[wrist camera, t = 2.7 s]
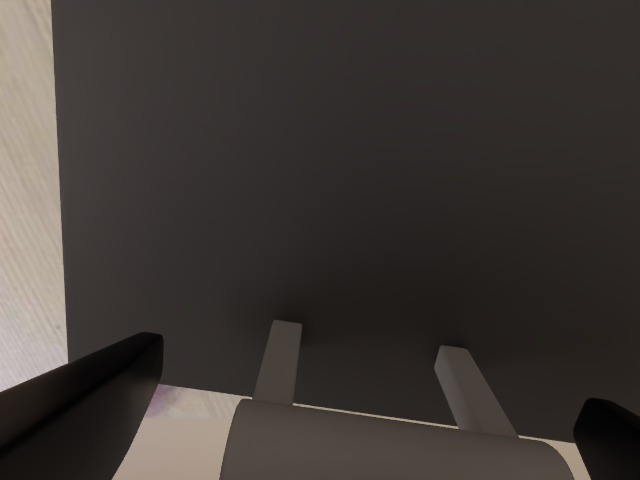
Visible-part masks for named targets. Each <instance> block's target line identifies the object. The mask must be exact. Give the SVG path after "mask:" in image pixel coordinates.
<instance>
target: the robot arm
mask: <svg viewBox="0 0 640 480" xmlns="http://www.w3.org/2000/svg"><path fill="white" fill-rule="evenodd" d="M163 353H164V338H163V336H162V335H161V334H158V333H151V332H140V333H138V334H135V335H133V336H131V337H128V338H126V339H124V340H121V341H119V342H117V343H114V344H112V345H110V346H107V347H105V348H103V349H100V350H98V351H96V352H93V353H91V354H89V355H86V356H84V357H82V358H79V359H77V360H75V361H72V362H70V363H68V364H65V365H63V366H61V367H58V368H56V369H54V370H51V371H49V372H47V373H44V374H42V375H40V376H37V377H35V378H33V379H30V380H28V381H26V382H23V383H21V384H19V385H16V386H14V387H11V388H9V389H7V390H4V391H2V392H0V480H112V478H113V476H114V475H115V473H116V471H117V469H118V468H119V466H120V464H121V463H122V461H123V459H124V457H125V455H126V454H127V452H128V450H129V448H130V446H131V444H132V442H133V439H134V437H135V435H136V433H137V431H138V428H139V426H140V424H141V421H142V419H143V417H144V415H145V413H146V410H147V408H148V406H149V404H150V401H151V399H152V397H153V395H154V392H155V390H156V388H157V386H158V383H159V381H160V379H161V375H162V371H163ZM573 437H574V441H575V443H576V446H577V448H578V450H579V453H580V455H581V457H582V460H583V462H584V464H585V466H586V469H587V471H588V473H589V475H590V478H591V480H640V416H638V415H636V414H634V413H633V412H631V411H629V410H627V409H625V408H624V407H622V406H620V405H618V404H616V403H615V402H613V401H610V400H606V399H599V398H588V399H587V400H586V401H585V402H584V404H583V407H582V409H581V411H580V414H579V416H578V418H577V420H576V423H575V425H574V428H573Z"/></svg>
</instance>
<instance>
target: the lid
mask: <svg viewBox="0 0 640 480" xmlns="http://www.w3.org/2000/svg"><path fill="white" fill-rule="evenodd" d="M51 11H52V32H53V53H54V74H55V95H56V116H57V137H58V158H59V179H60V200H61V221H62V242H63V263H64V285H65V306H66V327H67V348H68V363H70V362H72V361H75V360H77V359H79V358H82V357H84V356H86V355H89V354H91V353H93V352H96V351H98V350H100V349H103V348H105V347H107V346H110V345H112V344H114V343H117V342H119V341H121V340H124V339H126V338H128V337H131V336H133V335H135V334H138V333H140V332H151V333H158V334H161V335H162V336H163V338H164V353H163V371H162V375H161V379H160V381H159V383H158V384H164V385H171V386H178V387H185V388H192V389H199V390H206V391H213V392H220V393H227V394H234V395H241V396H248V397H253V398H252V400H251V399H242V400H241V401H240V402H239V404H238V406H237V408H236V411H235V413H234V417H233V420H232V423H231V427H230V431H229V435H228V439H227V443H226V448H225V452H224V457H223V462H222V467H221V473H220V478H219V480H574V477H573V475H572V472H571V470H570V468H569V467H568V465H567V463H566V461H565V460H564V458H563V457H562V456H561V455H560V454H559V452H558V451H557V450H556V449H554V448H553V447H552V446H550V445H549V444H547V443H545V442H542V441H537V440H530V439H523V438H519V437H518V435H521V436H527V437H534V438H541V439H549V440H556V441H562V442H569V443H575V441H574V437H573V428H574V425H575V423H576V420H577V418H578V416H579V414H580V411H581V409H582V407H583V404H584V402H585V401H586V400H587V399H588V398H599V399H606V400H610V401H613V402H615V403H616V404H618V405H620V406H622V407H624V408H625V409H627V410H629V411H631V412H633V413H634V414H636V415H638V416H640V0H51ZM293 403H297V404H304V405H311V406H318V407H325V408H332V409H339V410H346V411H353V412H360V413H367V414H374V415H381V416H388V417H395V418H402V419H409V420H416V421H423V422H430V423H437V424H443V425H451V426H458V428H459V429H453V428H446V427H439V426H433V425H425V424H418V423H412V422H405V421H398V420H391V419H384V418H377V417H370V416H363V415H356V414H349V413H342V412H335V411H328V410H321V409H314V408H307V407H300V406H293Z"/></svg>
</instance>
